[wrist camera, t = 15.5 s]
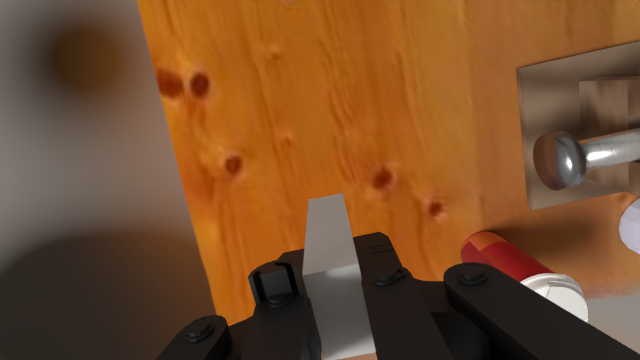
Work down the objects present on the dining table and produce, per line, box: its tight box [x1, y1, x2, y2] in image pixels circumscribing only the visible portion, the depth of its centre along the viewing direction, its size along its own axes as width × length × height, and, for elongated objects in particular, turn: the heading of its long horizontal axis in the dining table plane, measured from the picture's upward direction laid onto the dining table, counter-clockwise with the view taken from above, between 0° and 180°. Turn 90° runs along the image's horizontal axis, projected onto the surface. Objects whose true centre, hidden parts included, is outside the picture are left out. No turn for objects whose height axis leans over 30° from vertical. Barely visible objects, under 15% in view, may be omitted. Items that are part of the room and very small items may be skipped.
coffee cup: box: [461, 231, 588, 322], centre depth 42 cm, size 8×8×15 cm
